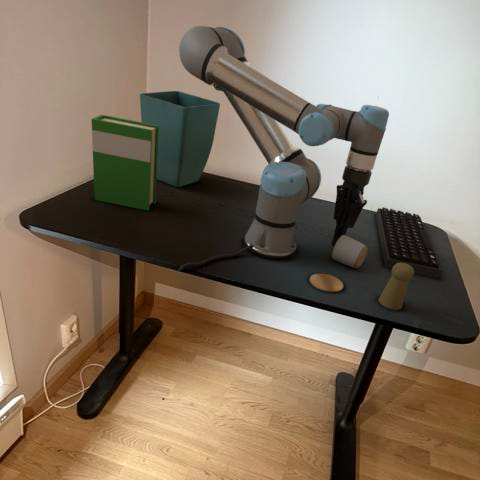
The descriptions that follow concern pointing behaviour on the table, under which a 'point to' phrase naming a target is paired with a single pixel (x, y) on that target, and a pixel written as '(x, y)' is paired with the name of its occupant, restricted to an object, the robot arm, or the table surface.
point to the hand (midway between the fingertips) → (336, 245)
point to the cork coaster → (326, 282)
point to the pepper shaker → (396, 286)
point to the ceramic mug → (349, 252)
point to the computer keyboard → (406, 242)
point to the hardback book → (125, 161)
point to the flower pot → (180, 133)
